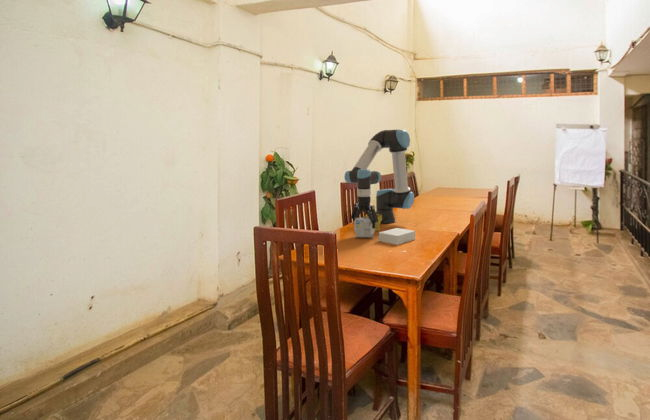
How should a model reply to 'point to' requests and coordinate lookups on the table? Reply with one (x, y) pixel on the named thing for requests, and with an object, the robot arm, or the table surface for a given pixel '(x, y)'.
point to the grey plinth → (396, 236)
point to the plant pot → (377, 222)
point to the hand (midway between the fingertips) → (364, 232)
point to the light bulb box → (363, 227)
